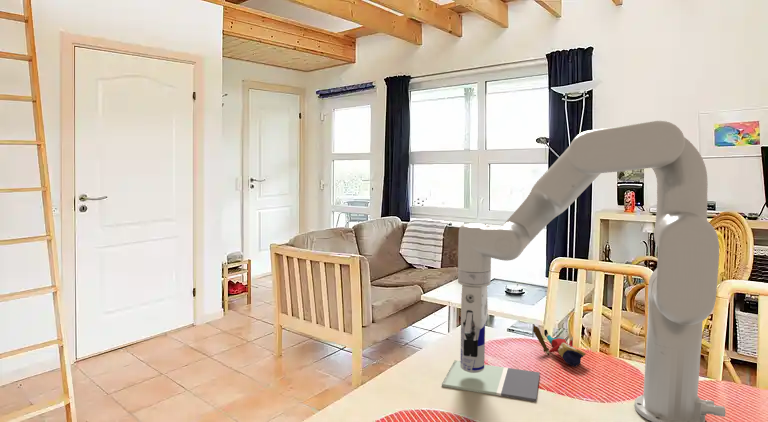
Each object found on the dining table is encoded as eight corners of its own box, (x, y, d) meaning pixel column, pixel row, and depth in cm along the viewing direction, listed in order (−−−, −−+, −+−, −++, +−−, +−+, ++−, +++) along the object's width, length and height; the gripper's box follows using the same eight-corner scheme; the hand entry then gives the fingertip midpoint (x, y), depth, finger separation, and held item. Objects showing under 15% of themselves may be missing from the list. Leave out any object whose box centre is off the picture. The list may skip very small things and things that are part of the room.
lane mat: (539, 374, 120) (539, 372, 119) (536, 401, 106) (536, 399, 106) (454, 362, 127) (454, 360, 127) (441, 386, 114) (441, 383, 114)
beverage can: (484, 375, 113) (485, 312, 112) (460, 373, 114) (460, 311, 113) (484, 364, 119) (485, 304, 117) (460, 363, 120) (461, 303, 118)
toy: (563, 324, 138) (591, 346, 123) (560, 346, 138) (588, 370, 124) (531, 323, 136) (556, 346, 122) (528, 345, 137) (553, 370, 123)
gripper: (484, 287, 105) (482, 368, 107) (495, 270, 121) (493, 340, 123) (450, 284, 108) (449, 363, 110) (465, 267, 124) (464, 337, 126)
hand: (472, 350), depth 116 cm, fingers closed on beverage can, 4 cm apart
